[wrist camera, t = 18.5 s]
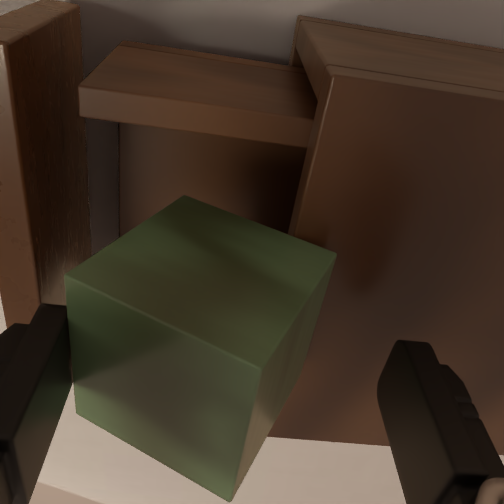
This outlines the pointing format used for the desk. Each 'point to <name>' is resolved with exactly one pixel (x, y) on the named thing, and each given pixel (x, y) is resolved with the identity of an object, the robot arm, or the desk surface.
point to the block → (194, 336)
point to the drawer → (132, 142)
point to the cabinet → (399, 221)
